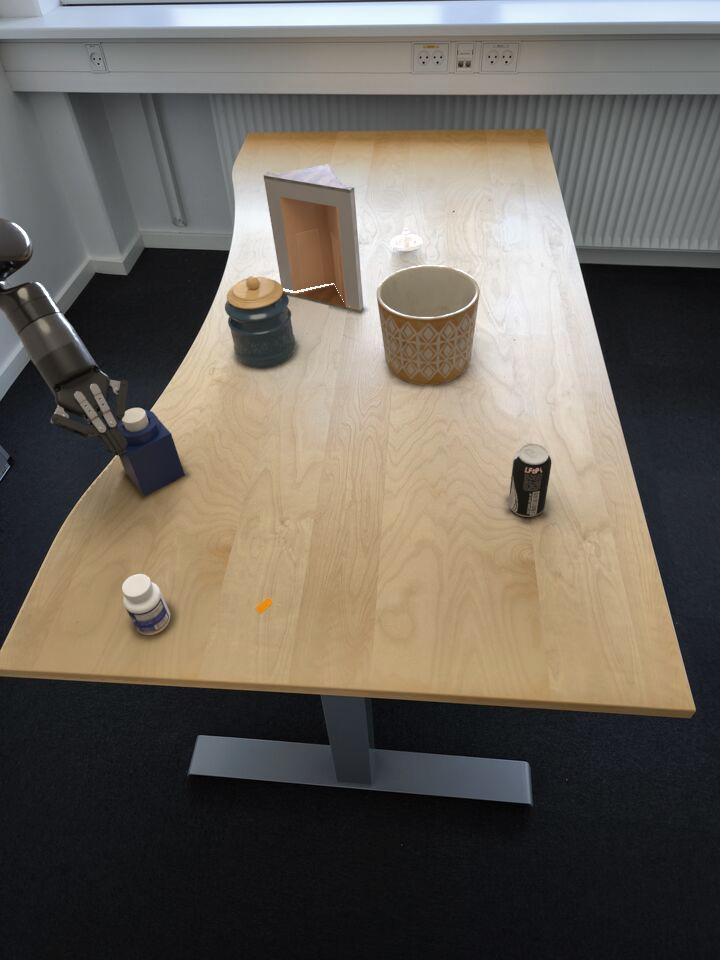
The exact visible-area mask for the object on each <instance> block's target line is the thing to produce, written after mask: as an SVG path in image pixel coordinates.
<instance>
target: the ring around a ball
mask: <svg viewBox="0 0 720 960" xmlns="http://www.w3.org/2000/svg"><path fill="white" fill-rule="evenodd" d="M408 230H409V229H408V227H404V228H403V231H402V232H401V235H397V236H395V237H393V238H392V239H391V240H390V243H389V245H390V247H391V248H392V249H393V250H395V251H397V252H403V253H405V252H412V251H415V250H418V249H419V248H421V247H422V245H423V239H422V238H421V237H420V236H418V235H415V234H411V232H410V231H408ZM396 241H397V242H396ZM395 243H397V245H396V244H395Z"/></svg>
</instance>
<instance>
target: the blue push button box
mask: <svg viewBox="0 0 720 960" xmlns="http://www.w3.org/2000/svg"><path fill="white" fill-rule="evenodd" d="M144 410H145V412H146V415H147V418H148V421H149V424H148V426H147V427H146V428H144V429H142V430H140V431H136V432H129V431H127V430H126V429H125V427H124V424H123V422H122V420H121V421H120V422H119V423H118V428H119V429H120V431H121V433H122V434H123V436H124V437H125V439H126V440H127V444H128V445H127V446H126V448H127V450H126V451H125V452H123V453H122V454H120V455H118V457H119V460H120V462H121V465H122V467H123V469H124V472H125V474H126V475H127V476H128V478H129V479H130V480H131V481H132V483H133V484H134V486H136V488H137V489H138V491H139V492H140V494H141V495H142V496H143V497H146V496H148V495H150V494H152V493H154V492H155V491H158V490H160V489H161V488H163V487H165V486H167V485H169V484H172V483H173V482H175V481H177V480H179V479H181V478H183V477H185V476H186V474H185V471H184V468H183V465H182V461H181V459H180V455H179V453H178V450H177V447H176V444H175V441H174V438H173V435H172V432H170V431H169V430H170V429H168V428H167V427H166V426H165V425H164V424H163V423H162V421H161V420H160V419H159V418H158V416H157V415H156V414H155V412H154V411H152V410H148V409H144Z"/></svg>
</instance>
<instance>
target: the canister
mask: <svg viewBox="0 0 720 960" xmlns="http://www.w3.org/2000/svg"><path fill="white" fill-rule="evenodd" d="M289 302H290V299H289V296H288V295H287V294H286V293H285V292H284V291H283V288H282V286H281V282H279V281H277V280H275V279H271V278H268V277H265V276H255V275H250V276H248V277H247V278H243V279H242V280H239V281H238V282H237V283H235V284H234V285H233V286H232V287H230V289H228V291H227V294H226V302H225V303H224V311H225V314H227V316H228V320H227V324H228V327H229V329H230V334H231V337H232V342H233V350H234V354H235V356H236V357H237V358H236V359H238V361H239V362H240V363H241V364H242V365H244V366H246V367H249V368H253V369H267V368H268V369H269V368H273V367H277V366H279V365H281V364H284V363H285V362H286V361H288V360H289V359H291V358H292V356H293V355H294V353H295V350H296V336H295V334H294V330H293V323H292V311H291V309H290V308H289V307H288V305H289Z"/></svg>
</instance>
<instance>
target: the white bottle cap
mask: <svg viewBox="0 0 720 960" xmlns="http://www.w3.org/2000/svg"><path fill="white" fill-rule="evenodd" d="M145 410H146V409H143V408H141V407H132V408H129V409H127V410H125V416H124V417H123V419H122V422H123V424H124V427H125V429H126V430H127V431H129V432H136V431H140V430H142V429H144V428H146V427H147V426H148V424H149V421H148V418H147V415H146V412H145Z"/></svg>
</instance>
